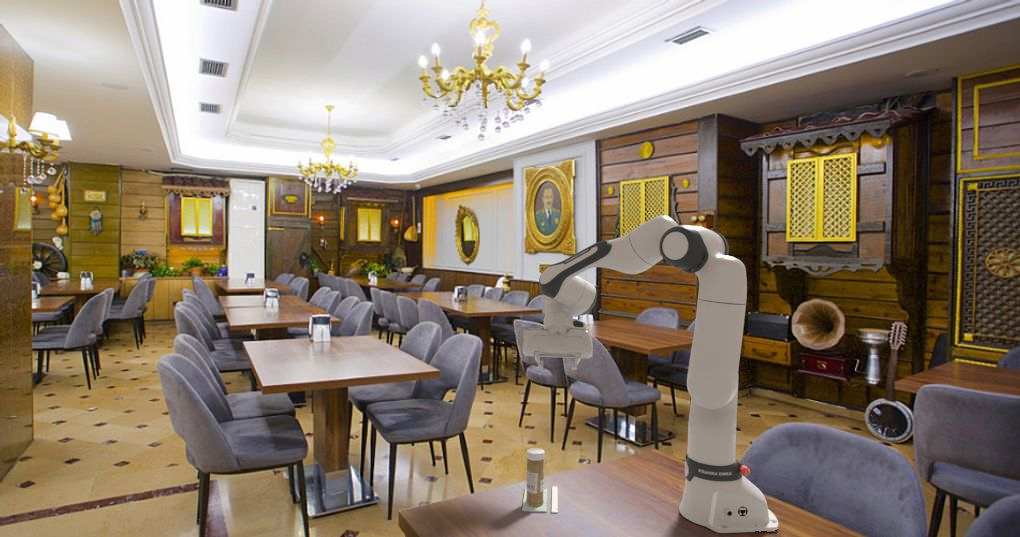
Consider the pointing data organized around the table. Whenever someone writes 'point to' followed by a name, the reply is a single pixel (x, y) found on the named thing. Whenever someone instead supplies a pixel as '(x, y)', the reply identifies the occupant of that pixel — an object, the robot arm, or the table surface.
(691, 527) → the table surface
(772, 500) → the table surface
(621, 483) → the table surface
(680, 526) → the table surface
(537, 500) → the sprinkles bottle
